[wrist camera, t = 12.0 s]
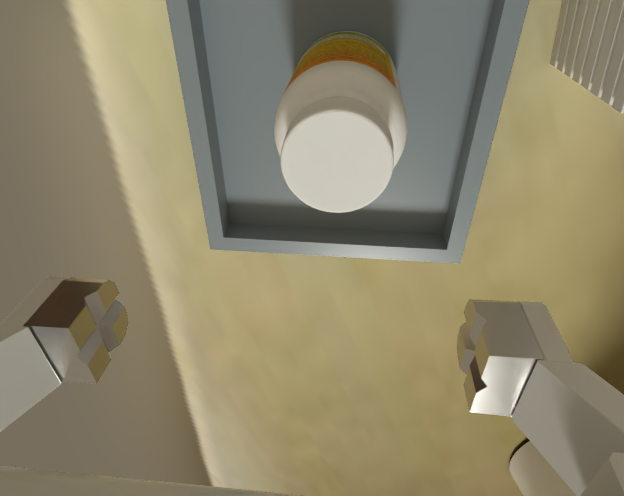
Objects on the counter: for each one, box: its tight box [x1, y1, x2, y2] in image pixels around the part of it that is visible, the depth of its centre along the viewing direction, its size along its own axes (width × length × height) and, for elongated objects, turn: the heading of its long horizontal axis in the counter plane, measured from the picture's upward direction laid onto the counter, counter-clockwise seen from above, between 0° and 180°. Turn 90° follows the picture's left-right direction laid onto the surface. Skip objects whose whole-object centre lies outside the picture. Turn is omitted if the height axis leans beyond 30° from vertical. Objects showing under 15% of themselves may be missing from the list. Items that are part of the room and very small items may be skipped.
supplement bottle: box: [274, 31, 407, 213], centre depth 19 cm, size 5×5×10 cm
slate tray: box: [166, 0, 529, 264], centre depth 22 cm, size 20×16×2 cm
